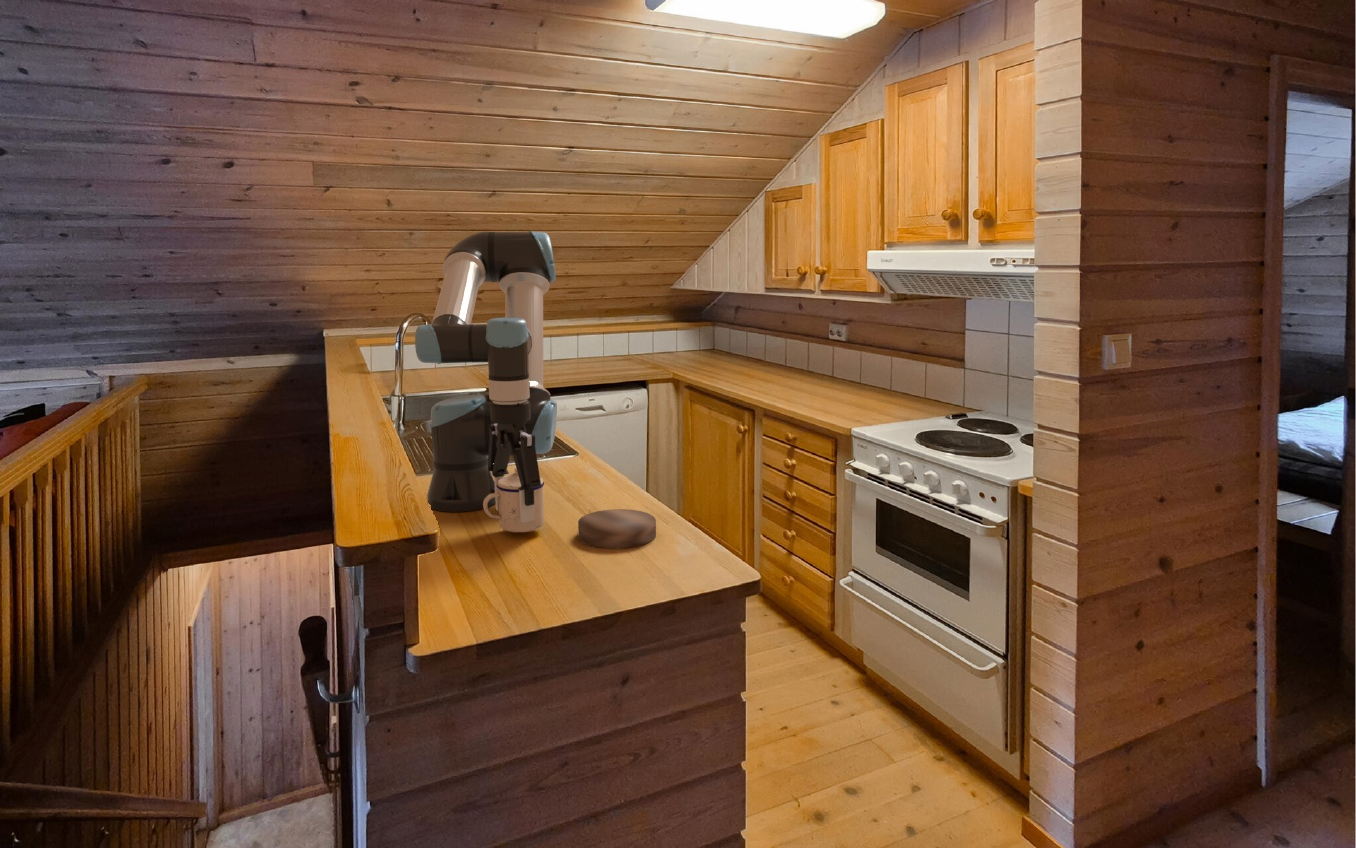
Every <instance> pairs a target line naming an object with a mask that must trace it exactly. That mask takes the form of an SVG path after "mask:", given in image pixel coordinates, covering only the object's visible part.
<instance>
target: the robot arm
mask: <svg viewBox="0 0 1356 848" xmlns="http://www.w3.org/2000/svg"><path fill="white" fill-rule="evenodd" d="M553 254H554V253H553V247H552V241H551V238H550V236H549V234H548V233H546V232H544V231H533V230H528V231H479V232H476V233H473V234H471V235H468V236H467V237H464V238H463V239H462V240H460V241H458V242H457V243H456V244H455V245H454V246H453V247H452V248H451V249H450V250H449V251H448V252H447V254H446V256H445V258H444V260H443V264H442V268H441V272H442V273H441V274H442V276H443V281H442V285H441V288H440V291H439V296H438V299H437V302H436V303H437V304H436V306H435V307H436V308H435V309H434V315H433V317H432V322H431V323H428V324H421V325H418V326H417V328H416V329H415V333H414V346H415V353H416V358H417V359H418V360H419V361H420V362H421V363H425V364H436V365H440V364H462V363H467V364H468V363H475V364H476V363H487V365H488V366H487V367H488V368H487V369H488V395H489V396H488V397H489V400H490V401H487V398H486V397H485V395H484V394H469V395H467V394H466V395H462V396H456V397H450V398H447V399H443V400H441V401H438V402H436V403H434V405H433V406H432V407H431V408H430V425H429V427H430V428H431V443H432V444H431V445H432V446H431V447H432V460H433V472H432V476H431V480H430V483H429V486H428V491H427V493H426V496H427V497H426V498H427V499H428V501H427V504H428V503H429V504H430V505H431V508H430V509H432V510H435V511H440V512H447V513H448V512H449V513H451V512H452V513H453V512H454V513H457V512H458V513H459V512H469V511H470V512H471V511H478V510H482V509H484V508H483V501H484V499H485V498H486V497H487V496H488V495H489V494H492V493H498V488H497V486H496V485H497V482H498V481H499V480H500V479H501V478H503V477H506V476H508V475H510V472H509V470H508V466H509V461H510V457H511V456H512V457H513V460H514V465H515V468H517V472H518V476H519V479H520V483H521V487H519V488H518V489H519V500H520V522H522V523H523V522H527V521H531V520H535V509H534V488H535V487H538V486H540V485H541V481H540V477H541V476H540V475H541V474H540V470H539V469H540V468H539V463H538V456H537V455H541V454H547V453H549V452H550V451H551V450H552V448H553V445H554V442H555V441H554V440H555V435H556V428H557V417H558V415H557V414H558V405H557V402H556V401H555V400H552V399H551V393H550V392H549V390H547V389H546V388H545V387H544V295H545V294H546V293H547V292H548V291H549V290H550V287H551V284H552V283H553V282H554V283H555V282H556V280H557V277H556V269H555V268H556V267H555V262H554V255H553ZM483 283H498V287H499V289H500V290H501V291H502V292H503V293H504V294H505V296H504V297H505V302H504V303H505V307H504V314H505V315H504V317H495V318H490V319H488V320H487V322H486V323H485V324H479V323H478V324H472V322H473V321H472V320H473V316H474V311H475V306H476V300H477V297H478V291H479V287H481V286H482V285H483ZM550 283H551V284H550ZM493 505H495V509H496V511H499V501H498V497H495V498H492V499H490V500H489V502H488V508H489V507H492V506H493Z"/></svg>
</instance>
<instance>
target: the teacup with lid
mask: <svg viewBox="0 0 1356 848" xmlns="http://www.w3.org/2000/svg"><path fill="white" fill-rule="evenodd" d="M540 481H541V485H540V486H538V487H535V488H534V509H535V520H531V521H527V522H523V523H522V522H520V500H519V489H518V488H519V487H521V483H520V479H519V476H518V472H517V468H516V467H515V468H514V472H511V473H509V474H507V476H506V477H503V478H501V479H500V480H499V481H498V482H497V485H496V486H497V488H498V493H492V494H489V495H488V496H487V497H486V498H485V499H484V501H483V508H482V509H483V511H484V512H485V514H486V515H487V516H488V517H489V518H491V519H499V520H498V521H499V522H498V523H499V527H500V528H501V529H502V530H503V531H506V532H511V533H528V532H533V531H536V530H538V529H540V528H542V527H543V526H544V524H545V508H544V507H545V505H544V502H545V501H544V485H545V482H544V479H543V478H542V477H541V476H540ZM495 497H498V501H499V510H498V513H492V512H490V510H489V507H488V502H489V500H490V499H492V498H495Z"/></svg>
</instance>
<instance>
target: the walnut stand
mask: <svg viewBox="0 0 1356 848" xmlns="http://www.w3.org/2000/svg"><path fill="white" fill-rule="evenodd" d="M577 523H578V527H577V528H578V539H579V541H580V542H581V543H582V544H585V545H587V546H589V547H592V548H593V547H594V548H598V549H606V550H607V549H608V550H609V549H610V550H621V549H623V550H624V549H631V548H637V547H640V546H641V547H642V546H644V545H646V544H649V543H651V542H652V541H654V540H655V539H656V537H657V536H656V535H657V519H656V517H655V516H654V515H652V514H650V513H648V512H645V511H641V510H635V509H626V508H625V509H623V508H622V509H618V508H617V509H616V508H615V509H604V510H599V511H593V512H590V513H587V514H585V515H583V516H581V517H580V518H579V519H578V522H577Z"/></svg>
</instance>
